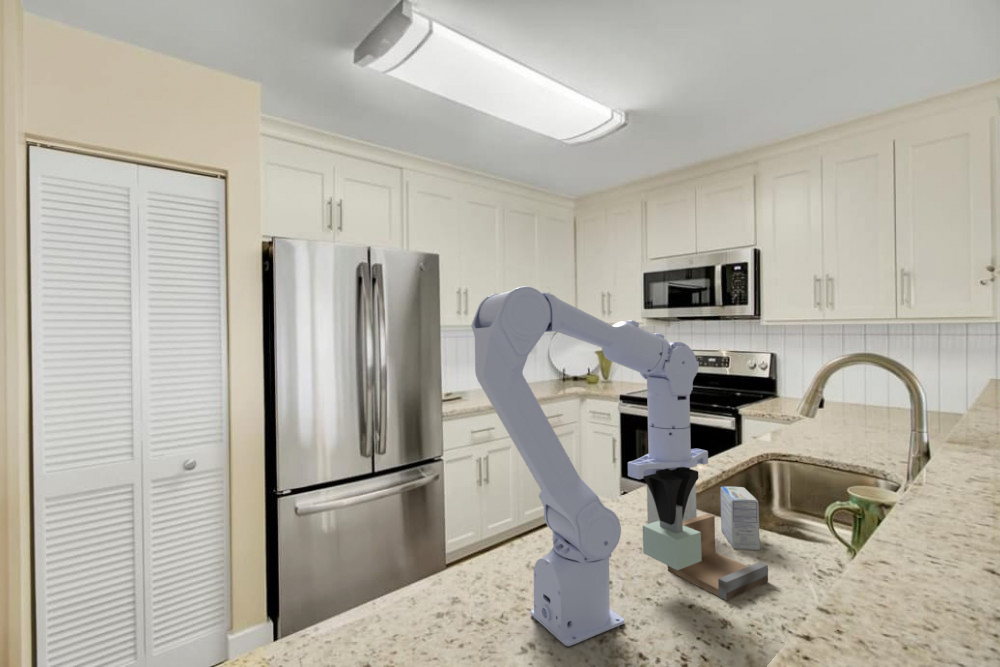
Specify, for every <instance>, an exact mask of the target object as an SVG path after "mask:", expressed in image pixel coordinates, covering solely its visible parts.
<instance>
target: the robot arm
mask: <svg viewBox="0 0 1000 667" xmlns="http://www.w3.org/2000/svg"><path fill="white" fill-rule="evenodd" d="M470 325H471V330H472V332H473V335H474V367H475V368H474V371H475V376H476V379H477V382H478V384H479V385H480V387H481V388H482V390H483V392H484V393H485V396H486V397H487V399H488V401H489V403H490V404H491V406H492V407H493V409H494V411H495V412H496V414H497V416H498V418H499V420H500V422H501V423H502V425H503V427H504V428H505V430H506V432H507V434H508V435H509V437H510V439H511V441H512V443H513V444H514V446H515V448H516V449H517V451H518V452H519V454H520V456H521V458H522V460H523V462H524V463H525V465H526V467H527V468H528V470H529V472H530V474H531V475H532V477H533V478H534V481H535V482H536V484H537V485H538V487H539V489H540V492H539V494H538V498H539V500H540V501H541V503H542V506H543V517H544V520H545V523H546V525H547V527H548V528H549V529H550V530H551V531H552V548H551V550H550V551H549V552H548V553H547V554H546V555H544V556H543V557H540V558H539V559H537V561H536V562H535V564H534V568H533V609H531V610H530V615H531V616H532V617H533V618H534V619H535V620H536V621H537V622H539V623H540V624H541V625H542V626H543V627H544V628H545V629H546V630H547V631H549V632H550V633H551V634H552V636H554V637H555V638H556V639H557V640H558V641H559V642H561V643H562V644H563V645H564V646H566V647H571V646H573V645H576V644H578V643H581V642H584V641H585V640H588V639H590V638H593V637H595V636H597V635H599V634H602V633H605V632H606V631H611V629H615V628H617V627H619V626H621V625H624V624H625V621H626V620H625V618H624V617H623V616H621V615H620V614H618V613H616V612H615V610H612V609H611V607H610V559H611V558H612V553H613V552H614V551H615V549H616V548H617V546H618V545H619V542H620V539H621V536H622V535H621V534H622V528H621V527H622V526H621V522H620V519H619V517H618V516H617V514H616V513H615V512H614V511H613V510H612V509H610V508H609V507H607V506H605V505H604V504H603V502H602V501H601V499H600V498H599V496H598V494H596V492H595V491H594V490H593V489H592V488H591V487H590V486H589V485H588V484H587V483H586V482H585V481H584V480H583V479H582V478H581V477H580V474H579V473H578V472H577V470H576V468H575V466H574V464H573V462H572V461H571V459H570V457H569V455H568V453H567V451H566V450H565V448H564V446H563V445H562V442H561V440H560V439H559V436H558V435H557V434H556V432H555V430H554V428H553V427H552V424H551V423H550V421H549V419H548V418H547V416H546V414H545V412H544V410H543V409H542V406H541V405H540V403H539V401H538V399H537V397H536V396H535V394H534V392H533V391H532V388H531V386H530V385H529V383H528V382H527V380H526V378H525V376H524V375H523V370H524V368H525V366H526V362H527V360H528V356H529V355H530V354H531V352H532V351H533V349H534V348H535V346H536V345H537V344H538V342H539V341H540V340H541V338H542V337H543V335H544V334H545V333H553V332H557V333H559V334H563V335H565V336H568V337H570V338H574V339H576V340H579V341H583V342H585V343H587V344H591V345H593V346H596V347H599V348H601V350H602V354H603V356H604V358H606V360H608V361H610V362H612V363H615V364H618V365H620V366H622V367H626V368H627V369H631V370H632V371H635V372H637V373H639V374H640V375H641V377H642V378H643V379H645V380H646V392H647V395H646V399H647V440H648V442H647V443H648V445H647V446H648V453H647V454H644V455H643V456H641V457H638V458H637V459H634V460H631V461H628V462H627V476H628V477H630V478H632V479H637V480H642V479H643V480H644V481H645V483H646V486H647V485H648V487H649V489H650V491H651V493H652V496H653V499H654V502H655V505H656V508H657V512H658V516H659V519H660V521H662V522H665V523H667V524H670V525H672V524H674V521H675V516H676V505H679V506H682V520H683V517H684V513H685V508H686V504H687V501H688V498H689V495H690V492H691V490H692V488H693V486H694V484H695V483H696V482H697V481H698V480H699V477H700V476H699V471H697V470H695V469H692V468H695V467H697V466H698V465H708V464H709V451H708V450H705V449H701V448H691V447H692V446H691V443H692V442H691V406H690V405H691V404H690V398H691V396H690V395H691V394H692V391H693V388H694V387H693V385H694V384H693V382H694V379H695V377H696V376H697V374H698V371H699V366H700V361H699V360H697V357H696V355H695V353H694V351H693V349H692V348H691V347H690V346H689V345H687V344H686V343H684V342H681V341H680V342H679V341H668V340H667V339H665V334H662V333H659V332H658V333H656V332H655V333H651V332H650V331H647V330H645V329H643V328H640V327H639V326H640V323H639V321H638V322H637V321H635V320H634V319H633V320H631V319H629V320H626V321H618V322H615V323H614V324H612V325H611V324H610V323H607V322H606V321H604V320H602V319H599V318H598V317H595V316H594V315H591V314H590V313H587V312H585V311H584V310H582V309H579V308H577V306H574V305H571V304H570V303H567V302H566V301H564V300H562V299H560V298H559V297H557V296H556V295H554V294H552V293H549V292H541V291H539V290H538V289H536V288H534V287H531V286H519V287H517V288H516V287H515V288H514V289H511V290H510V291H505V292H502V293H493V294H489V296H486V297H485V298H483V300H482V301H481V302H480V303H479V305H478V308H477V309H476V313H475V315H474V317H473V319H472V323H471V324H470Z"/></svg>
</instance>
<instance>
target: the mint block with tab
mask: <svg viewBox="0 0 1000 667" xmlns="http://www.w3.org/2000/svg"><path fill="white" fill-rule="evenodd" d="M642 552H643V555H646V556H648V557H649V558H652V559H654V560H656V561H658V562H660V563H662V564H664V565H666V566H667V567H668V566H670V567H672V568H674V569H676V570H680V569H682V568H685V567H687V566H690V565H693V564H695V563H698V562H700V561H702V557H701V532H699V531H697V530H694V529H691V528H689V527H686V526H684V525H683V522H682V506H679V505H676V516H675V521H674V524H672V525H670V524H667V523H665V522H662V521H656V522H653V523H650V524H648V523H647V524H644V525H642Z"/></svg>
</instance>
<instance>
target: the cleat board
mask: <svg viewBox="0 0 1000 667" xmlns="http://www.w3.org/2000/svg"><path fill="white" fill-rule="evenodd" d="M682 522H683V525H684V526H686V527H689V528H691V529H694V530H697V531H699V532H701V557H702V561H700V562H698V563H695V564H693V565H690V566H687V567H685V568H682V569H680V570H676V569H674V568H672V567H670V566H668V565H667V571H668V572H670V573H673V574H674V575H677V576H678V577H680V578H682V579H683V580H686V581H687V582H690V583H692V584H693V585H696V586H698V587H699V588H701V589H704V590H706V591H707V592H709V593H711V594H712V595H715V596H716V597H719V598H721V599H723V600H724V601H729V600H731V599H733V598H736V597H737V596H740V595H742V594H744V593H746V592H748V591H751V590H753V589H755V588H757V587H760V586H762V585H764V584H766V583H769V565H768V564H766V563H764V562H762V561H759V562H756V563H754V564H751V565H749V566H748V565H745V564H743V563H741V562H738V561H736V560H734V559H731V558H729V557H727V556H725V555H723V554H720V553H717V552H716V530H715V529H716V526H715V525H716V523H715V522H716V518H715V515H713V514H710V513H706V514H703V515H699V516H697V517H695V518H691V519H688V520H685V521H682Z"/></svg>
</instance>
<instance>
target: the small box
mask: <svg viewBox="0 0 1000 667" xmlns="http://www.w3.org/2000/svg"><path fill="white" fill-rule="evenodd" d="M696 485H697V484H696V483H695V484H694V486H693V488H692V490H691V492H690V495H689V498H688V501H687V504H686V508H685V513H684V517H683V520H682V521H685V520H688V519H691V518H695V517H698V516H697V492H696V491H697V489H696V488H697V487H696ZM646 502H647V503H646V506H647V508H646V509H647V524H650V523H653V522H656V521H660V519H659V516H658V512H657V508H656V505H655V502H654V499H653V496H652V493H651V491H650V489H649V487H648V485H647V484H646Z"/></svg>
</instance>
